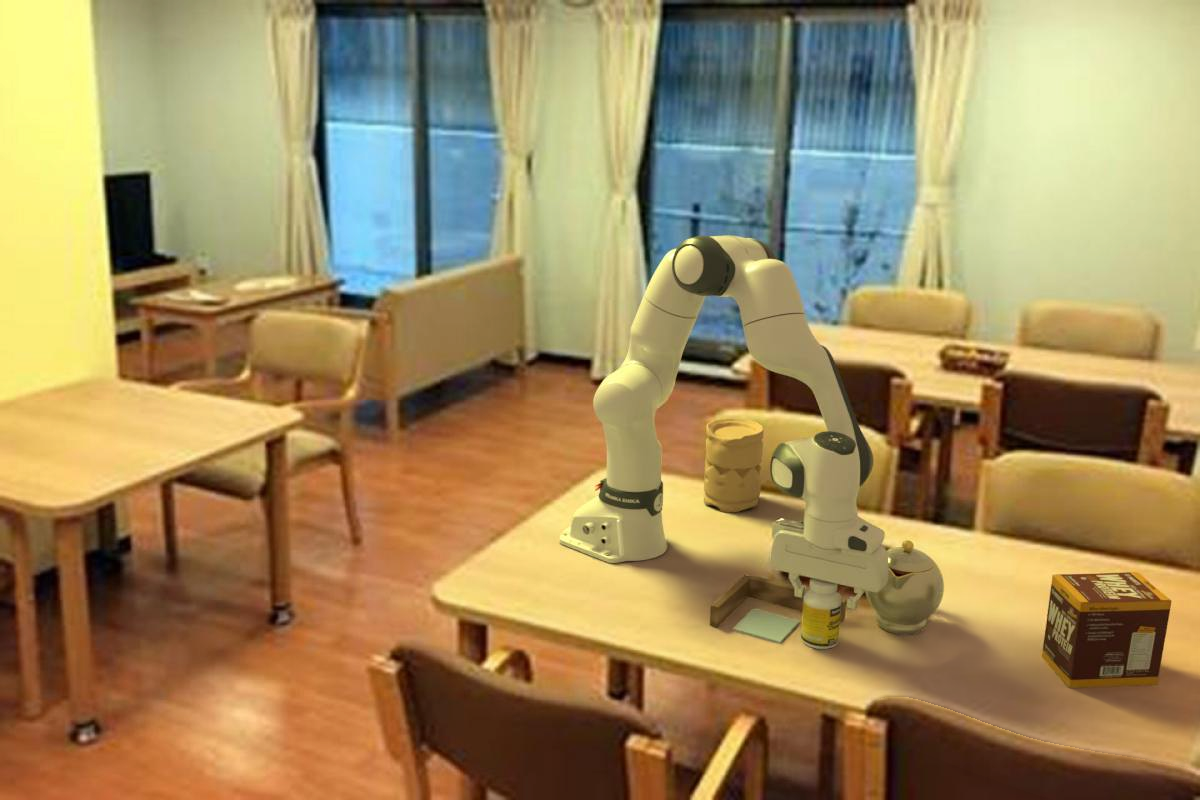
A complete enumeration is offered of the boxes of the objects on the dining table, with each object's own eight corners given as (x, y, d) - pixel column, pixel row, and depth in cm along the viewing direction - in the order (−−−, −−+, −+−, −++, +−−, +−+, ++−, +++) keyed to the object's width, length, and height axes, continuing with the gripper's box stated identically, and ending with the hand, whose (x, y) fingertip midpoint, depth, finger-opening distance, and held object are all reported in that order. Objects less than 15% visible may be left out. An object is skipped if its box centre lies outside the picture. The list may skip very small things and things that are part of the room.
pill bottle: (822, 654, 201) (826, 592, 198) (792, 640, 206) (796, 579, 202) (846, 642, 205) (850, 581, 202) (816, 628, 210) (820, 569, 207)
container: (745, 517, 258) (749, 439, 253) (694, 505, 264) (696, 429, 259) (768, 498, 268) (772, 423, 263) (718, 488, 274) (721, 414, 269)
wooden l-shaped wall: (709, 625, 211) (710, 605, 209) (745, 592, 223) (746, 573, 222) (814, 655, 201) (815, 633, 200) (845, 618, 214) (846, 598, 212)
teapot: (930, 651, 202) (939, 564, 198) (852, 634, 208) (859, 549, 203) (949, 608, 218) (958, 526, 213) (876, 593, 224) (883, 513, 219)
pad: (732, 630, 209) (732, 628, 209) (753, 610, 216) (753, 608, 216) (780, 643, 205) (780, 641, 204) (799, 622, 212) (799, 620, 212)
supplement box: (1039, 656, 201) (1051, 573, 197) (1126, 653, 203) (1139, 570, 198) (1067, 688, 192) (1080, 602, 187) (1158, 685, 193) (1173, 599, 188)
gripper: (765, 522, 202) (762, 595, 206) (882, 546, 192) (877, 623, 196) (779, 510, 207) (776, 581, 211) (894, 533, 197) (888, 608, 201)
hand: (825, 602), depth 203 cm, fingers open, 8 cm apart
